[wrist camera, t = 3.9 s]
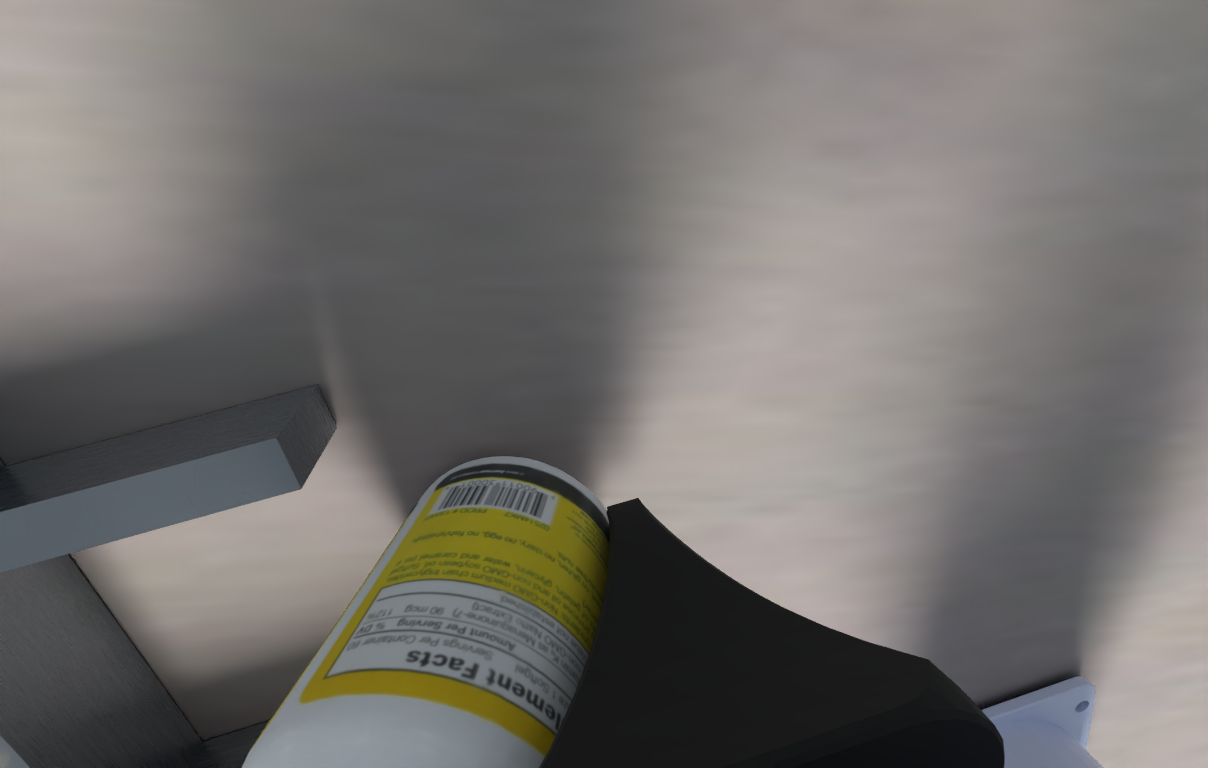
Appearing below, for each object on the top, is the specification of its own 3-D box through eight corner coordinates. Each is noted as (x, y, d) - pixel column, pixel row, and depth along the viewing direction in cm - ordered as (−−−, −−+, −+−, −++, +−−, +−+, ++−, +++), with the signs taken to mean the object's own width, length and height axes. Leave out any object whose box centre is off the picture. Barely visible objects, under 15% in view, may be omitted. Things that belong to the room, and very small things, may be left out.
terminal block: (493, 778, 16) (494, 922, 13) (167, 887, 16) (87, 1068, 12) (240, 208, 10) (132, 227, 7) (-316, 337, 10) (-712, 421, 6)
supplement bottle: (515, 648, 14) (338, 1235, 7) (375, 522, 13) (-30, 1055, 6) (667, 559, 13) (664, 1195, 5) (524, 407, 12) (241, 934, 4)
